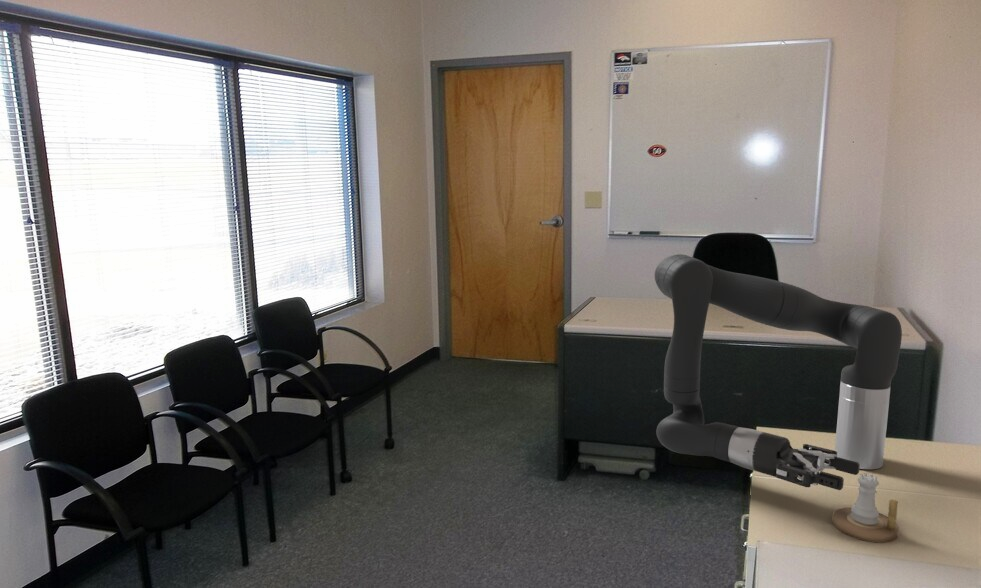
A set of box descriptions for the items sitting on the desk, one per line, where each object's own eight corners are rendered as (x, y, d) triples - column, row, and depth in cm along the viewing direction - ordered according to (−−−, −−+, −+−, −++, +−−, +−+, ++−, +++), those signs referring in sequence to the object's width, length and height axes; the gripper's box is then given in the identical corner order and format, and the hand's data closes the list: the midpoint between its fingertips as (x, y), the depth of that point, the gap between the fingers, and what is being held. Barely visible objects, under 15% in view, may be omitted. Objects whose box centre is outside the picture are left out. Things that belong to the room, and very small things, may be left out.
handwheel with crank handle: (843, 508, 127) (846, 476, 126) (905, 527, 120) (908, 493, 119) (823, 527, 120) (826, 493, 118) (888, 548, 113) (891, 513, 112)
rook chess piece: (875, 515, 121) (879, 472, 120) (882, 527, 117) (886, 483, 115) (846, 512, 122) (851, 469, 121) (853, 524, 118) (857, 480, 117)
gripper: (744, 442, 126) (839, 468, 114) (775, 423, 136) (865, 444, 125) (741, 481, 127) (835, 510, 116) (772, 459, 137) (861, 484, 126)
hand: (851, 476), depth 120 cm, fingers open, 8 cm apart
